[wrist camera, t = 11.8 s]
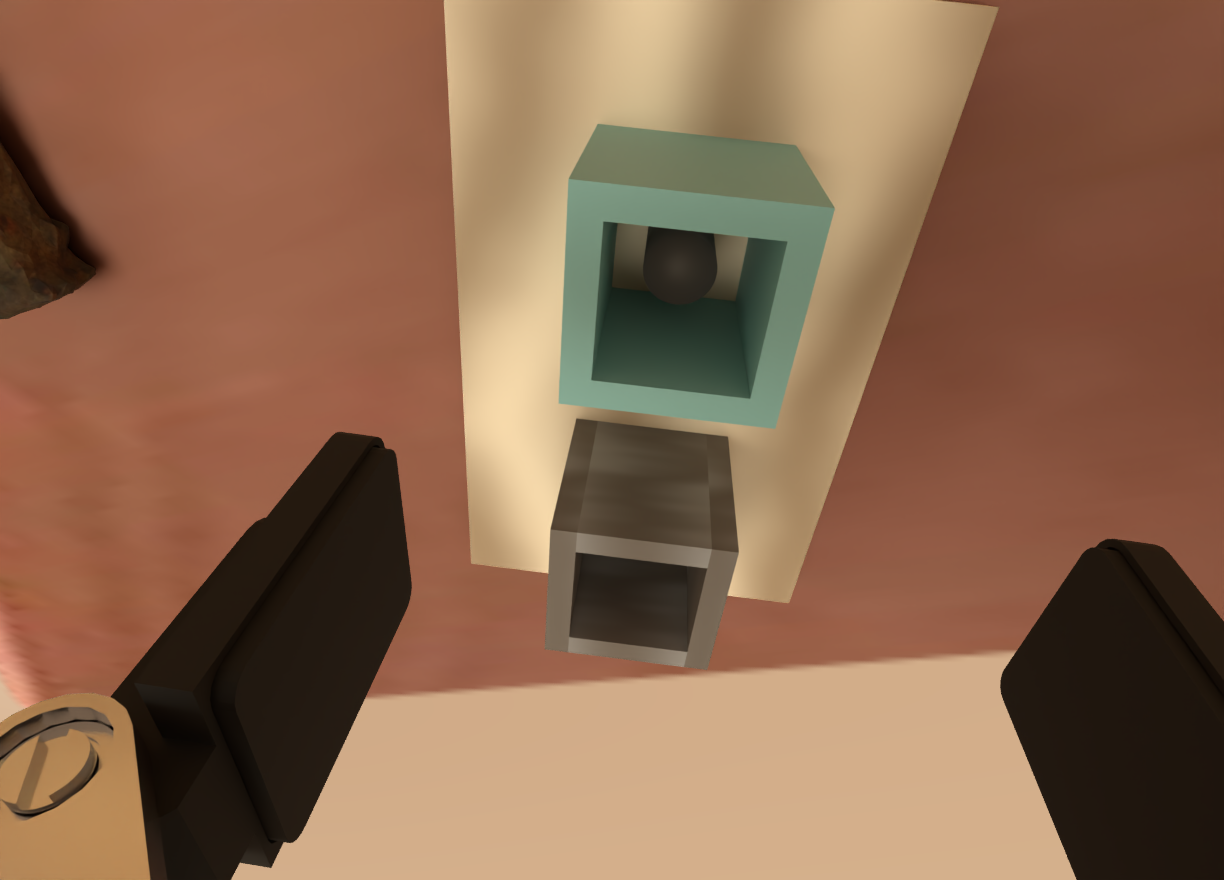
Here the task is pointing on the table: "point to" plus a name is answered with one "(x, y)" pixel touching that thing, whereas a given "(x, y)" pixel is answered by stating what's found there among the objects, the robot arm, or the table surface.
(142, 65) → the table surface
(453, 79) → the seat plate
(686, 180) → the teal wall cubby
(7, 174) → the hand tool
